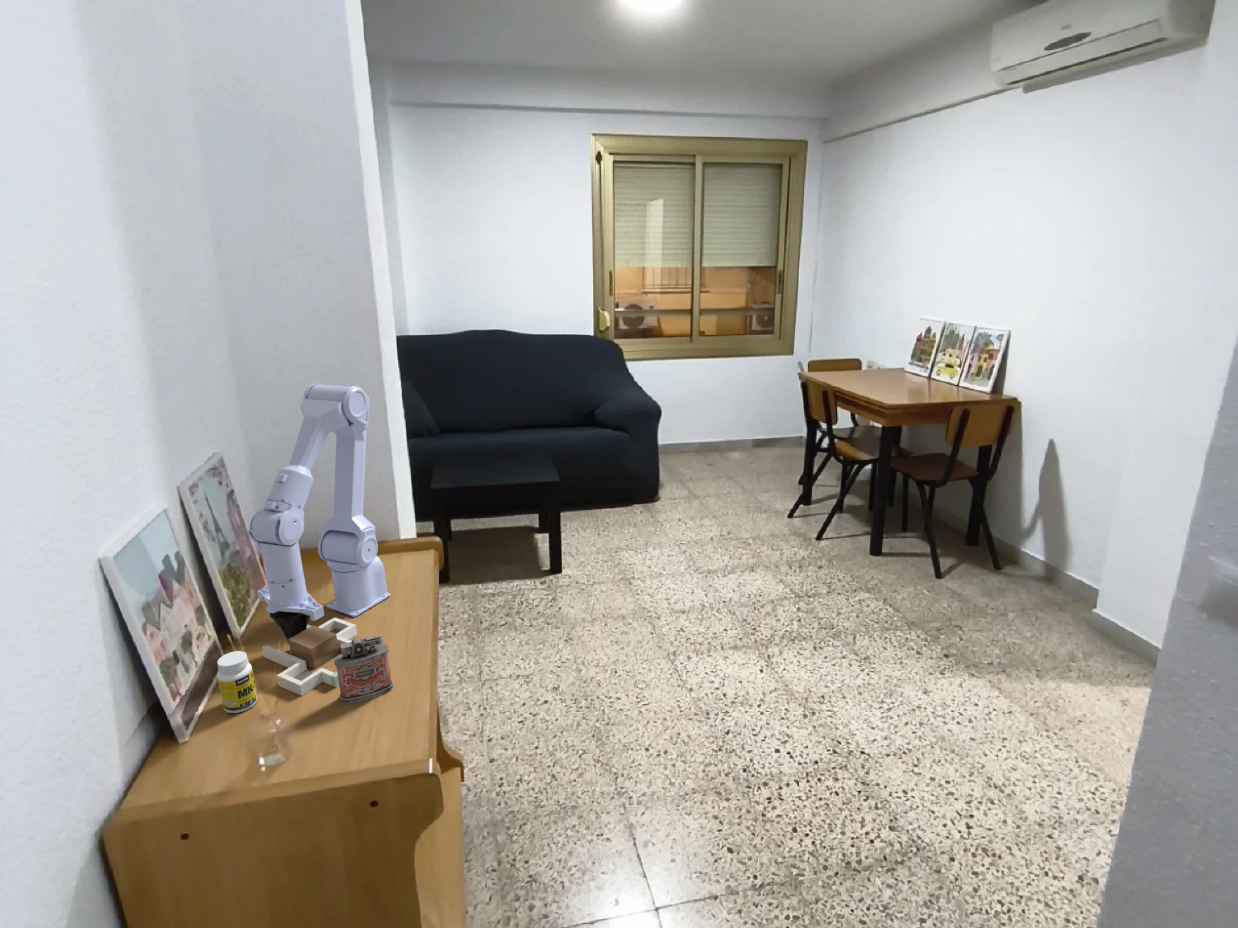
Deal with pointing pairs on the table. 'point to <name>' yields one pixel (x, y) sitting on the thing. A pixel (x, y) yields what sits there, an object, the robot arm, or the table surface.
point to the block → (314, 646)
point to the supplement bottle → (236, 682)
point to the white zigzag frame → (297, 672)
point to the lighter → (363, 669)
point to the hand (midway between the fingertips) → (297, 643)
